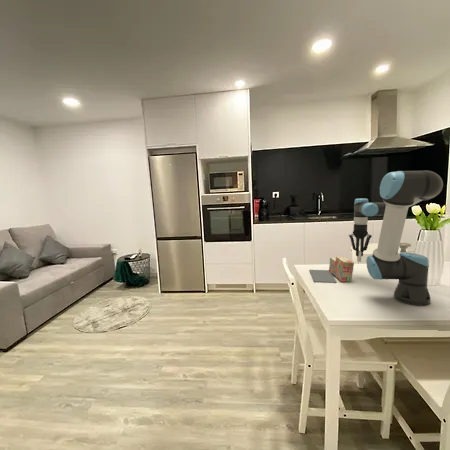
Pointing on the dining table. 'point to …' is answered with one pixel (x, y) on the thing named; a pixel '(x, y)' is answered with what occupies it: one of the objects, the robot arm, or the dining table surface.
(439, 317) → the dining table surface
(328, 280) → the mat
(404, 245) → the candle holder
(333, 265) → the stack of blocks
